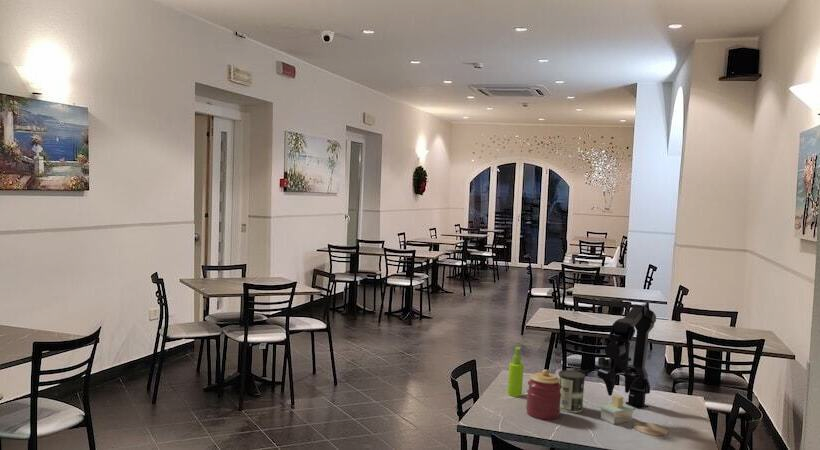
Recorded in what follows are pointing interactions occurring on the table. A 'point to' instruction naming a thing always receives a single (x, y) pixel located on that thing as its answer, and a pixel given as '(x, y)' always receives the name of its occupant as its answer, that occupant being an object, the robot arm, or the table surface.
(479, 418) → the table surface
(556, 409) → the canister
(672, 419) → the table surface
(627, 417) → the tin
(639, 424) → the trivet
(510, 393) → the soap dispenser
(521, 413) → the table surface
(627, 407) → the lid
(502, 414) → the table surface
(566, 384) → the coffee can
